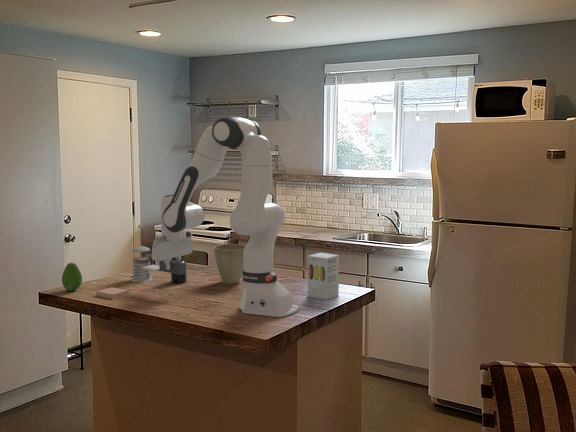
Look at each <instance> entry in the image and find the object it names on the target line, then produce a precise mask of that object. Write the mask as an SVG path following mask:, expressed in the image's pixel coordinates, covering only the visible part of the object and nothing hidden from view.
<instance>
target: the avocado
mask: <svg viewBox="0 0 576 432" xmlns="http://www.w3.org/2000/svg"><path fill="white" fill-rule="evenodd" d="M82 283H83V275H82V273H81V270H80V268H79V266H78V265H77V264H76V263H74V262H69V263H67V264H66V265H65V267H64V270H63V273H62V276H61V284H62V286H63V287H64V288H65V290H66V291H69V292H72V291H73V292H74V291H76V290H78V289H79V288H80V287H81V286H82Z"/></svg>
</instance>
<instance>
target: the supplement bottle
mask: <svg viewBox="0 0 576 432" xmlns="http://www.w3.org/2000/svg"><path fill="white" fill-rule="evenodd" d="M184 259H185V255H184V256H181V261H180V262H185V263H186V264H187V262H186V261H185V260H184ZM172 261H176V258H172ZM187 276H188V275H187V271H186V274H183V275H180V274H174V273H170V281H171V283H172V284H183V283H187V279H188V277H187Z"/></svg>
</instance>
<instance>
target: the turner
mask: <svg viewBox="0 0 576 432" xmlns="http://www.w3.org/2000/svg"><path fill="white" fill-rule="evenodd" d="M158 262H159V265H158V264H157V265H156V264H153V265H152V264H150V266H145V267H143V269H145V270H147V271H148V270H150V271H151V272H152V271H153V272H164V273H170V274H171V273H174V274H180V275H183V274H186V272H187V262H186V261H185V262H186V263H185V262H178V261H173V259H172V260H171V259H170V261H169V262H170V265H172V269H170V270H168V269H166V264H165V262H164V260H162V261H158Z"/></svg>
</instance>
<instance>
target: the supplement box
mask: <svg viewBox="0 0 576 432" xmlns="http://www.w3.org/2000/svg"><path fill="white" fill-rule="evenodd" d="M307 256H308V258H307V260H308V261H307V297H310V298H314V299H319V300H324V301H327V300H330V299H333V298H335V297H338V296H339V292H340V291H339V290H340V289H339V288H340V285H339V284H340V283H339V282H340V281H339V280H340V255H339V254H333V253H327V252H317V253H313V254H309V255H307Z"/></svg>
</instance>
